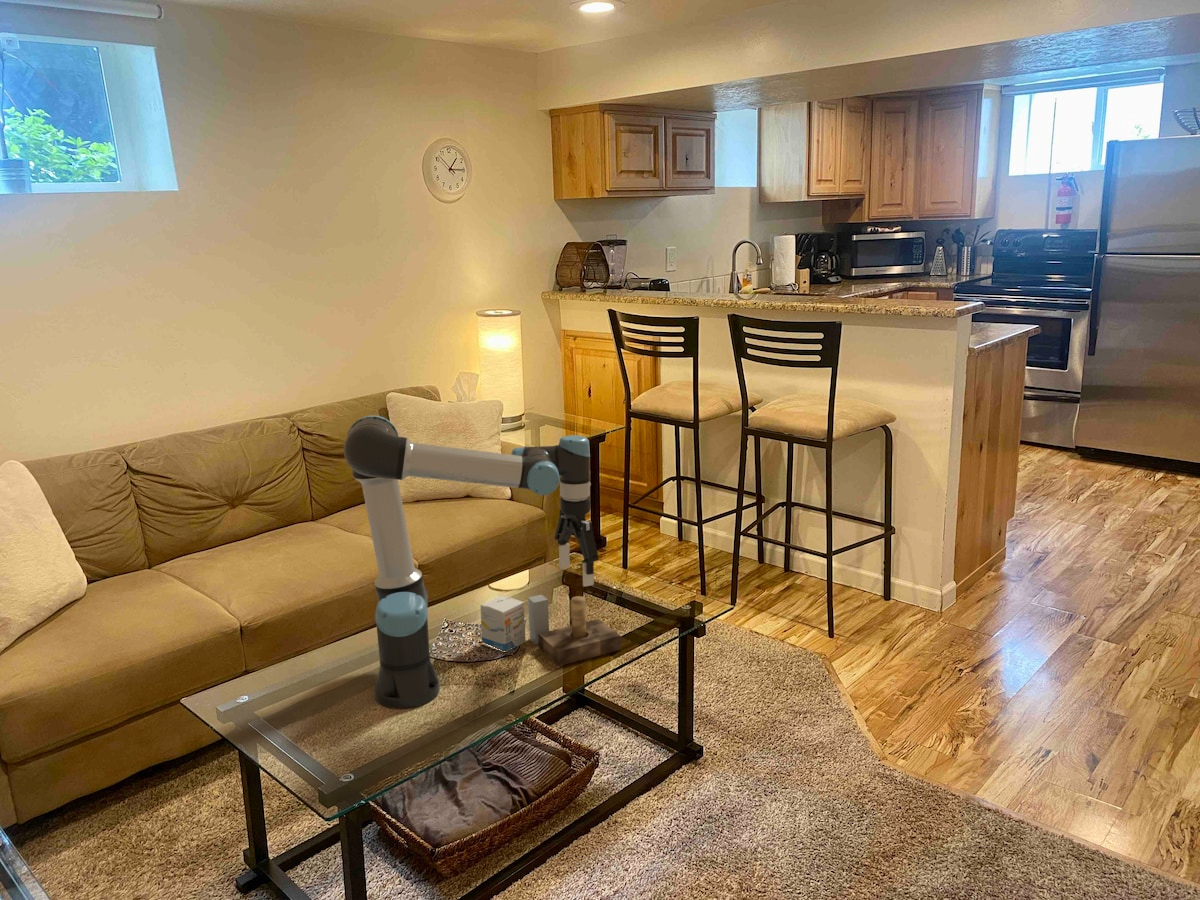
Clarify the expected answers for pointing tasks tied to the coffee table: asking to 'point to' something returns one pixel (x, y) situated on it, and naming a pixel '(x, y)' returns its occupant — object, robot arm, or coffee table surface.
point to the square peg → (538, 617)
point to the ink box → (503, 623)
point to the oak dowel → (578, 617)
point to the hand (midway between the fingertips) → (576, 576)
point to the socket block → (579, 643)
